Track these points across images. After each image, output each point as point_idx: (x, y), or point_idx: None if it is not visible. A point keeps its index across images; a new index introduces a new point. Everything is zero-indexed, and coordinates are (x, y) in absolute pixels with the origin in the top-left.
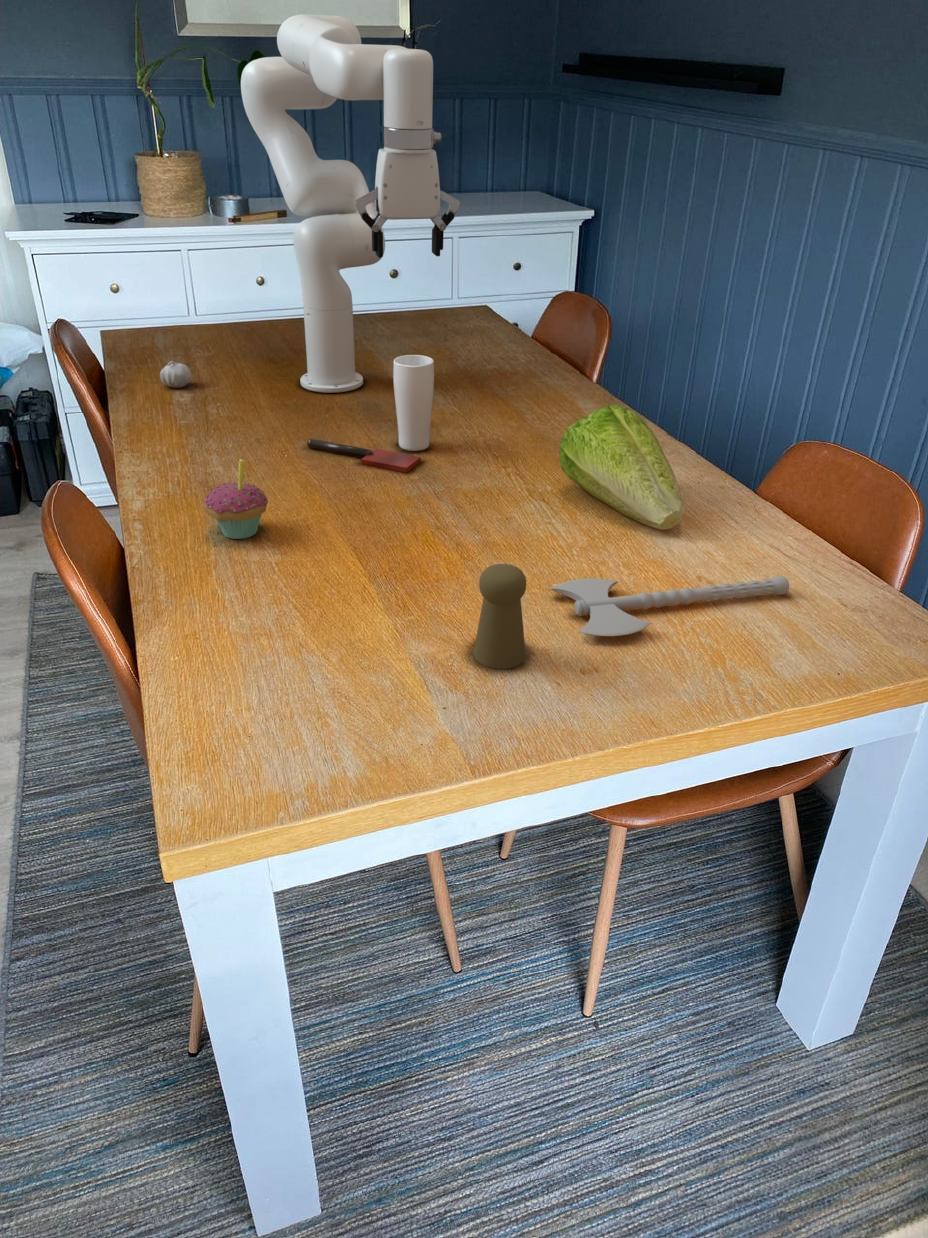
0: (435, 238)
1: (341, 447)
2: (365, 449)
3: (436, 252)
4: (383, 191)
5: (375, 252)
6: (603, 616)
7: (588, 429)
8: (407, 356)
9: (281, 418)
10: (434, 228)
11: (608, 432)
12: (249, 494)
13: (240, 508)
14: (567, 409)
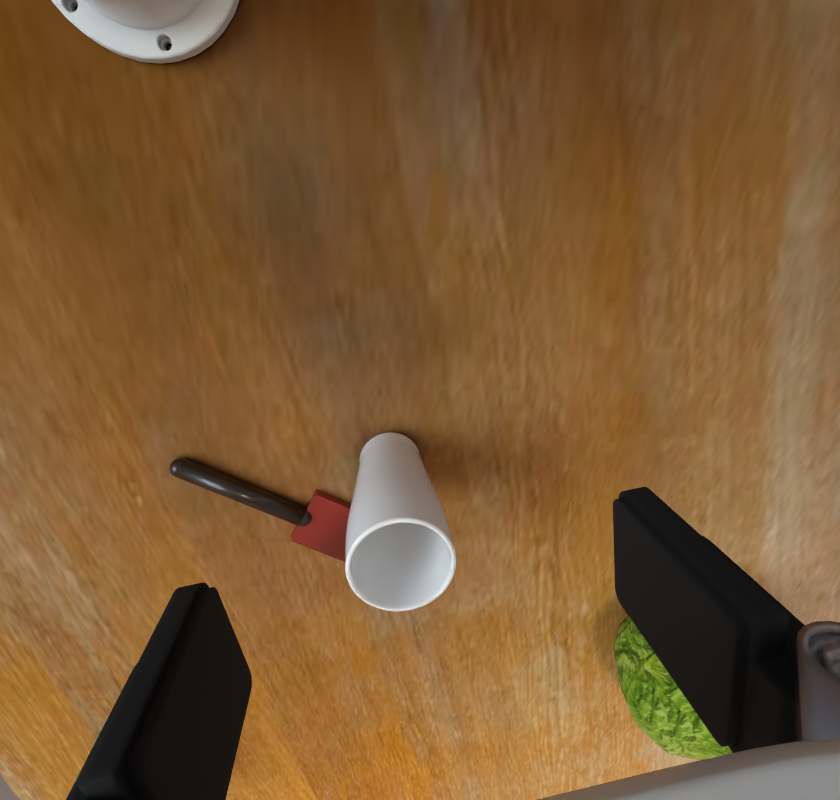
0: (684, 677)
1: (246, 504)
2: (295, 520)
3: (630, 610)
4: None
5: (178, 592)
6: None
7: (681, 744)
8: (385, 525)
9: (64, 280)
10: (751, 677)
11: (707, 755)
12: None
13: None
14: (752, 240)
